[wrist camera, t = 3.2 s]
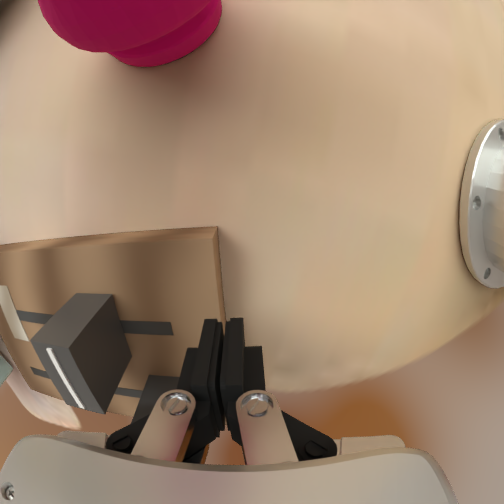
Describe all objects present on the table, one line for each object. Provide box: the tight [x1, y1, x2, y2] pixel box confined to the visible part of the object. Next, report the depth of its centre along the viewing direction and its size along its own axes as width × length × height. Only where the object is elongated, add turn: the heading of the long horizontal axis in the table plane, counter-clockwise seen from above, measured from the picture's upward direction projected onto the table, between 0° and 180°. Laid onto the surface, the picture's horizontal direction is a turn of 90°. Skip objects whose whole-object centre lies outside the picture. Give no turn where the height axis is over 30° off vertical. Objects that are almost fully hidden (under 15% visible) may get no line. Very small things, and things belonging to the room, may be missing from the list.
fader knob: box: [30, 293, 132, 414], centre depth 10 cm, size 2×4×4 cm, turn 2°
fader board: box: [0, 226, 227, 425], centre depth 12 cm, size 19×13×6 cm
